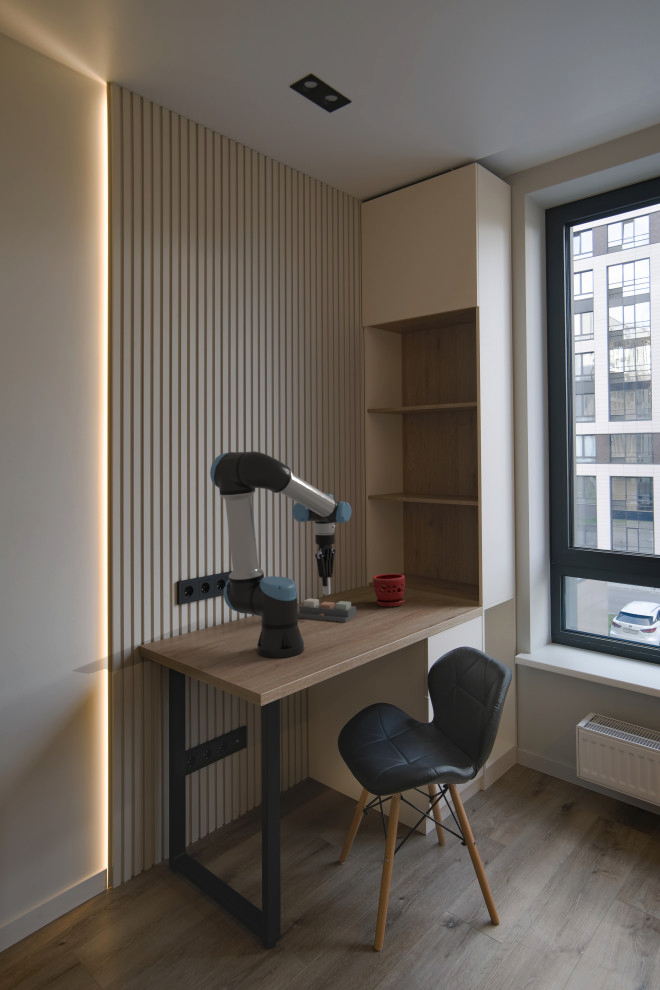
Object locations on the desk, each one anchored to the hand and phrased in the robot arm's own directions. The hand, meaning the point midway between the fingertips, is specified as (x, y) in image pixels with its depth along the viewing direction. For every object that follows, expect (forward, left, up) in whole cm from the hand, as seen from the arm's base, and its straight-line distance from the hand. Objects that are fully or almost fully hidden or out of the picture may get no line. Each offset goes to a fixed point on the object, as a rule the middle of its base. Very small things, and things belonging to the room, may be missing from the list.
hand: (326, 593), depth 238 cm
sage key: (0, -7, -6) cm, 9 cm away
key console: (-1, 0, -9) cm, 9 cm away
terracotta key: (0, 0, -7) cm, 7 cm away
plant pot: (+26, -16, -9) cm, 32 cm away
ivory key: (0, +7, -6) cm, 9 cm away
